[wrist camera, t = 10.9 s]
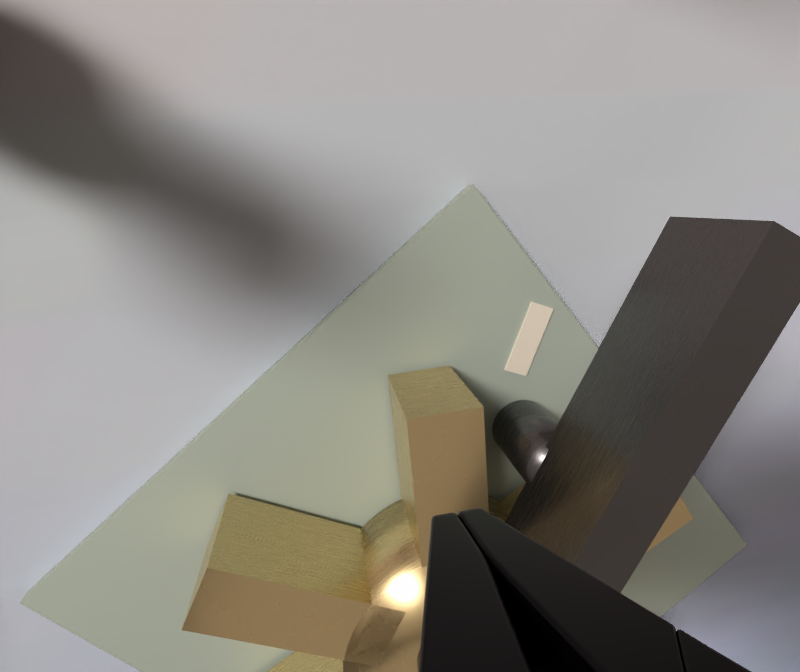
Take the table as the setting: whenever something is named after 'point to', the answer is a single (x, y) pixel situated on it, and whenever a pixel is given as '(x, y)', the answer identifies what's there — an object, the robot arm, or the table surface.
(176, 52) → the table surface
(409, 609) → the multicoloured angular piece
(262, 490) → the base plate
